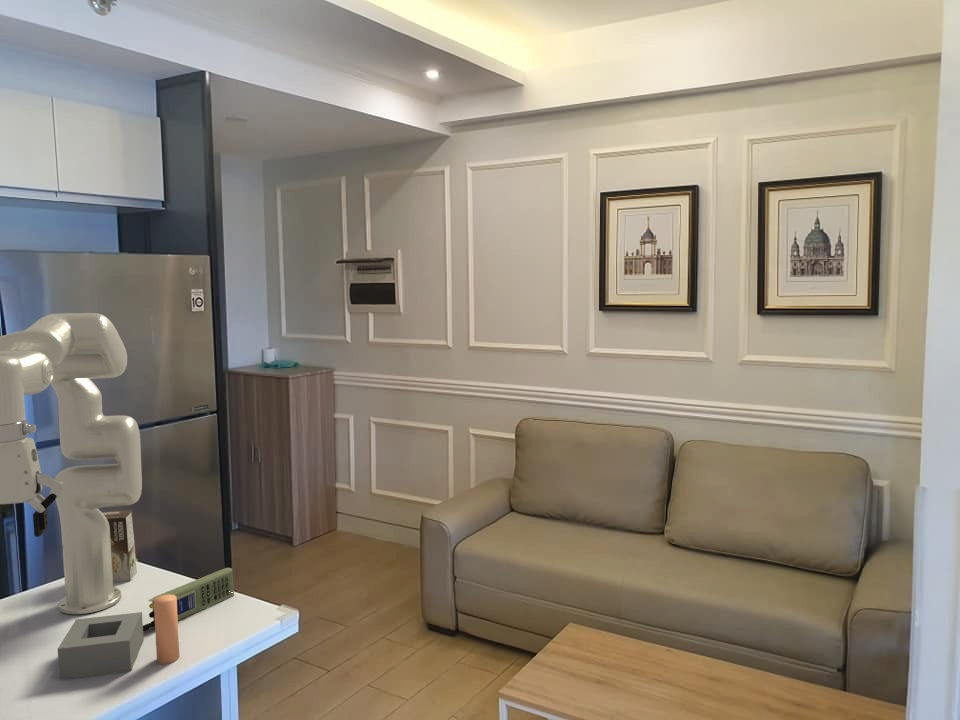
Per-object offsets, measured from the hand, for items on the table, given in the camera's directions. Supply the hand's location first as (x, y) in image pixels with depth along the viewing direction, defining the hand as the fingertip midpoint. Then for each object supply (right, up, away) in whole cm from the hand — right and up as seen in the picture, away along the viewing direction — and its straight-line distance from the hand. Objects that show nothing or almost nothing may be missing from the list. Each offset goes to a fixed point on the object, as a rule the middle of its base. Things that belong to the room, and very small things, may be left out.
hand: (6, 536), depth 117 cm
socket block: (+4, -29, +22) cm, 37 cm away
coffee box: (-13, -25, +61) cm, 67 cm away
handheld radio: (+12, -28, +40) cm, 50 cm away
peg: (+17, -29, +22) cm, 40 cm away
